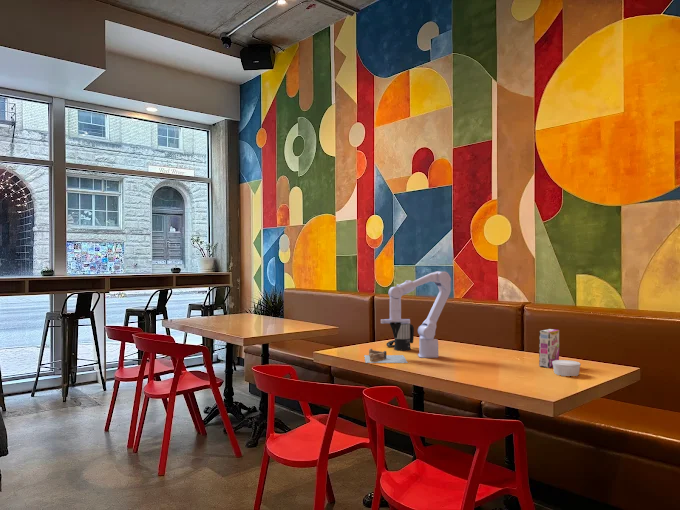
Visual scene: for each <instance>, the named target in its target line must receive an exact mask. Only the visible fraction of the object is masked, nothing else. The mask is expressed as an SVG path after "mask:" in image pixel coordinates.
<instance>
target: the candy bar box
mask: <svg viewBox="0 0 680 510" xmlns="http://www.w3.org/2000/svg"><path fill="white" fill-rule="evenodd" d="M538 345H539V346H538V348H539V349H538V350H539V351H538V354H539V357H538V360H539V361H538V364H539V365H538V367H540V368H545V369H550V368H553V364H552V361H555V360H560V329H555V328H548V329H543V330H539V344H538Z"/></svg>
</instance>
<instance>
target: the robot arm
mask: <svg viewBox="0 0 680 510" xmlns="http://www.w3.org/2000/svg"><path fill="white" fill-rule="evenodd" d="M430 282H431V283H434V284H435V285H436V287H437V288H438V293H437V294H436V295H437V296H436V298H435V300H434V302H433V305H432V307H431V308H430V311H429V313H428V315H427V317H426V319H425V320H424V321H423V322H422V324H421V325H419V326H418V328H417V334H418V335H419V339H418V340H419V341H418V342H419V345H418V346H419V348H418V350H419V352H418V353H417V356H418V357H419V358H421V359H422V358H427V359H428V358H429V359H430V358H432V359H433V358H435V359H436V358H439V340H438V338H435V336H436V329H437V327H438V326H437V322H438V321H439V318H440V315H441V314H442V312H443V309H444V308H445V305H446V302H447V300H448V298H449V296H450V294H451V293H452V292H451V291H452V290H451V288H452V284H451V282H452V278H451V275H450V274H449V272H447V271H440V270H436V271H434V272H430V273H428V274H426V275H423V276H421V277H420V278H416V279H415V280H411V279H406V280H404V282H402V283H399V284H398V283H397V284H396V286H391V287H390V288H389V289H388V292H387V294H388V296H389V318H384V319H383V318H382V319H380V324H389V326H390V328H391V330H392V334H393V338H394V339H395V338H397V335H398V331H399V329H400V326H401V323H410V324H411V319H410V318H402V296H406V295H408V294H410V293H412V292H414V291H415V290H416V288H417V287H419V286H422V285H424V284H428V283H430ZM395 323H396V324H395Z"/></svg>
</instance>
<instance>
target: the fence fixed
mask: <svg viewBox="0 0 680 510" xmlns="http://www.w3.org/2000/svg"><path fill="white" fill-rule="evenodd" d="M370 353H373V354H378V353H384V359H386V355H387V350H383V351H380V350H374V349H373V348H369V349H368V355H369V356H370Z"/></svg>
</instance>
